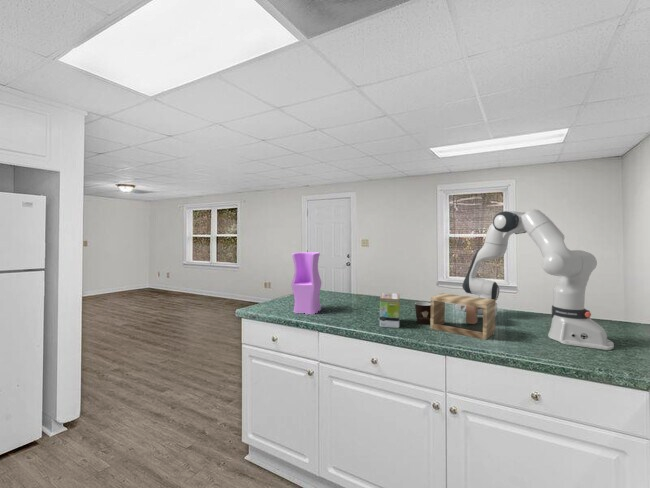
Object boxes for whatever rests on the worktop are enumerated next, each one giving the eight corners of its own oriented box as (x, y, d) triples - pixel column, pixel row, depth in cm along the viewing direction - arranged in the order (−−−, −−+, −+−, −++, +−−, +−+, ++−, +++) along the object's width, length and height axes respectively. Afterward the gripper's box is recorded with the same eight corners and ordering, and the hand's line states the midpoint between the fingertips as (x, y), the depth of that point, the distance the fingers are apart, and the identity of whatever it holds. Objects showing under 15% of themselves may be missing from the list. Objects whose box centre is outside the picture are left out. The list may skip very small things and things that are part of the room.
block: (477, 322, 170) (477, 300, 169) (474, 324, 166) (474, 302, 166) (469, 320, 172) (469, 299, 172) (466, 322, 169) (466, 301, 168)
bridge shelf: (495, 332, 156) (495, 299, 155) (486, 339, 145) (486, 304, 145) (441, 322, 173) (441, 293, 172) (430, 328, 162) (430, 297, 161)
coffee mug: (413, 323, 171) (413, 304, 170) (416, 319, 178) (416, 301, 178) (436, 326, 165) (436, 306, 165) (439, 322, 173) (439, 303, 172)
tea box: (399, 328, 163) (400, 298, 162) (379, 327, 165) (379, 297, 164) (399, 320, 178) (399, 292, 177) (380, 319, 180) (380, 292, 179)
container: (291, 313, 193) (291, 253, 192) (300, 308, 207) (299, 252, 205) (314, 314, 189) (313, 254, 188) (321, 309, 203) (321, 252, 201)
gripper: (460, 298, 185) (450, 302, 175) (500, 303, 172) (492, 307, 162) (459, 309, 186) (450, 314, 175) (500, 315, 172) (492, 320, 162)
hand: (471, 311), depth 168 cm, fingers closed on block, 4 cm apart
